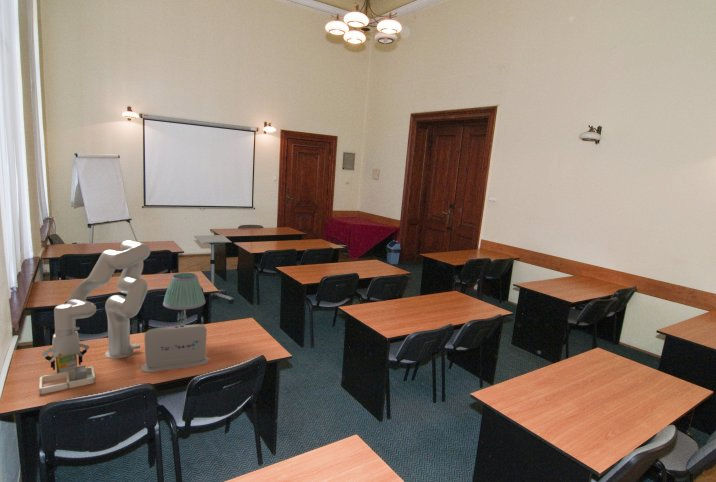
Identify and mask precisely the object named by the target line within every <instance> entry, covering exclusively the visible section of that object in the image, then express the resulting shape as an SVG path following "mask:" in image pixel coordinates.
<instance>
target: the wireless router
mask: <svg viewBox="0 0 716 482" xmlns="http://www.w3.org/2000/svg"><path fill="white" fill-rule="evenodd" d="M207 331H208V330H207V327H206V326H205V325H204V324H202V323H195V324H186V325H184V324H182V325H175V326H166V327H165V326H164V327H157V328H156V327H154V328H150V329H148V330H147V331H146V332H144V350H145V351H144V355H145V363H144V364H143V365H141V367H140V371H142V372H143V373H157V372H158V373H159V372H162V371H164V372H165V371H171V370H177V369H184V368H191V367H193V368H194V367H199V366H204V365H206V364H207V363H209V361H210V359H209V356H206V349H207V347H206V345H207Z"/></svg>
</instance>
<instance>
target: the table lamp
mask: <svg viewBox="0 0 716 482" xmlns="http://www.w3.org/2000/svg"><path fill="white" fill-rule="evenodd" d="M206 302H207V301H206V299H205V295H204V292H203V290H202V287H201V284H200V282H199V278H198V275H197V274H196V273H190V272H181V273H180V272H179V273H175V274H173V275H172V277H171V279H170V282H169V284H168V287H167V288H166V291H165V295H164V298H163V302H162V306H163V307H165V308H166V309H170V310H180V311H181V312H178V313H177V322H179V321H180V323H181V324H182V321H183V325H187V321H188V319H187V318H188V317H187V315H186V312H187V311H186V310H191V309H197V308H200V307H203V306H205V304H206Z"/></svg>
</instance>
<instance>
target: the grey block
mask: <svg viewBox="0 0 716 482" xmlns="http://www.w3.org/2000/svg"><path fill="white" fill-rule="evenodd" d="M86 368H87V367H86V365H78V366H77V367H75V381H76V380H81V379H86Z"/></svg>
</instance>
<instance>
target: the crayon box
mask: <svg viewBox="0 0 716 482" xmlns="http://www.w3.org/2000/svg"><path fill="white" fill-rule="evenodd" d="M77 356H78V355H77V354H73V355H68V356H62V354H59V357H56V358H55V363H56V364H55V367H56V373H61V372H66V371H71V370H75V367H78V361H77V360H78V358H77Z"/></svg>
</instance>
